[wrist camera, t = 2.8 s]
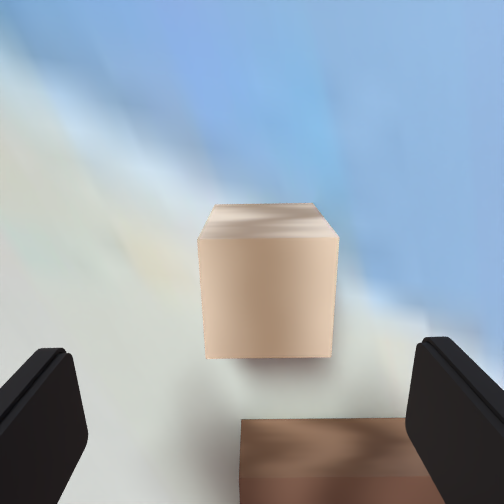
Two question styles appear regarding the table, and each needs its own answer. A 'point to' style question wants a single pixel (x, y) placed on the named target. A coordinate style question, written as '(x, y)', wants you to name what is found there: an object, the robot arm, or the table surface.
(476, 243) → the table surface
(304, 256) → the maple block
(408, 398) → the robot arm
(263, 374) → the table surface
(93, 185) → the table surface
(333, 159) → the table surface
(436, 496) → the walnut base
